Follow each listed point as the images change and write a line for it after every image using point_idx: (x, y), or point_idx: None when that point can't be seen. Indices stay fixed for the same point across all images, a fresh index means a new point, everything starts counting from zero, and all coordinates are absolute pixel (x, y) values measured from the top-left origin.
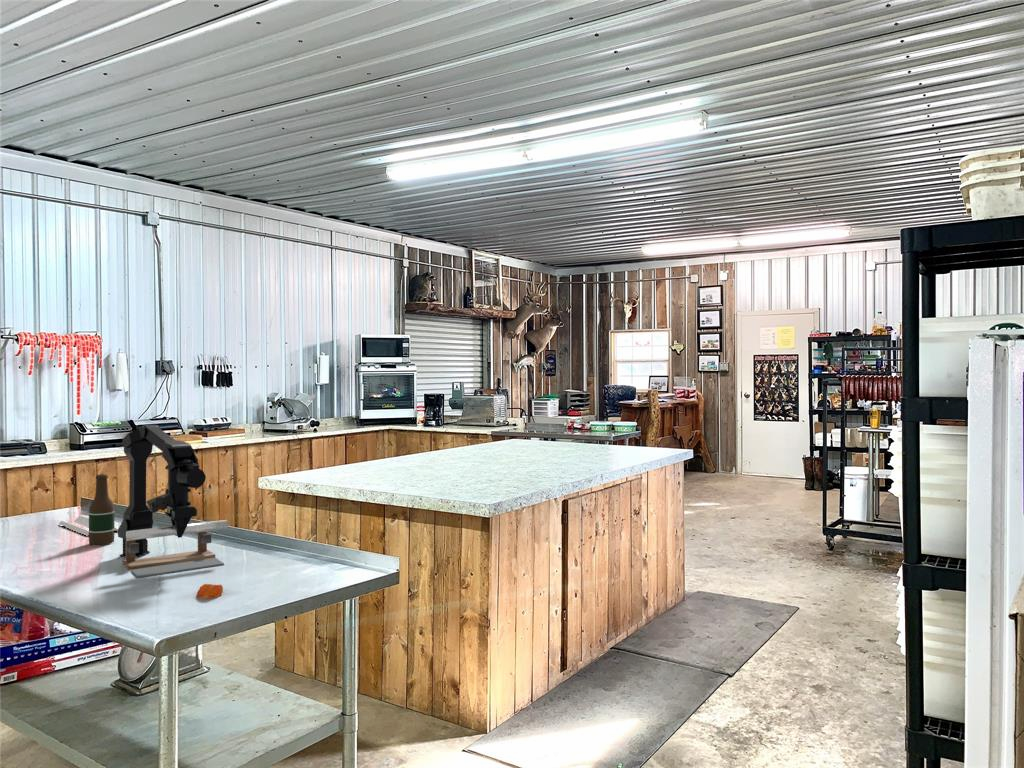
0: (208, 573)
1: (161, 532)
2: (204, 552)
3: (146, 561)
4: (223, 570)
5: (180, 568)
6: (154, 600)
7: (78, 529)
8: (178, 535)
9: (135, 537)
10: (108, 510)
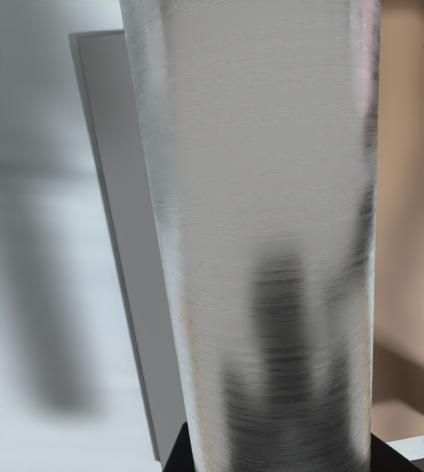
0: (18, 398)
1: (166, 272)
2: (414, 413)
3: (408, 128)
4: (51, 457)
5: (158, 288)
6: None
7: None
8: (175, 450)
9: None
10: None
